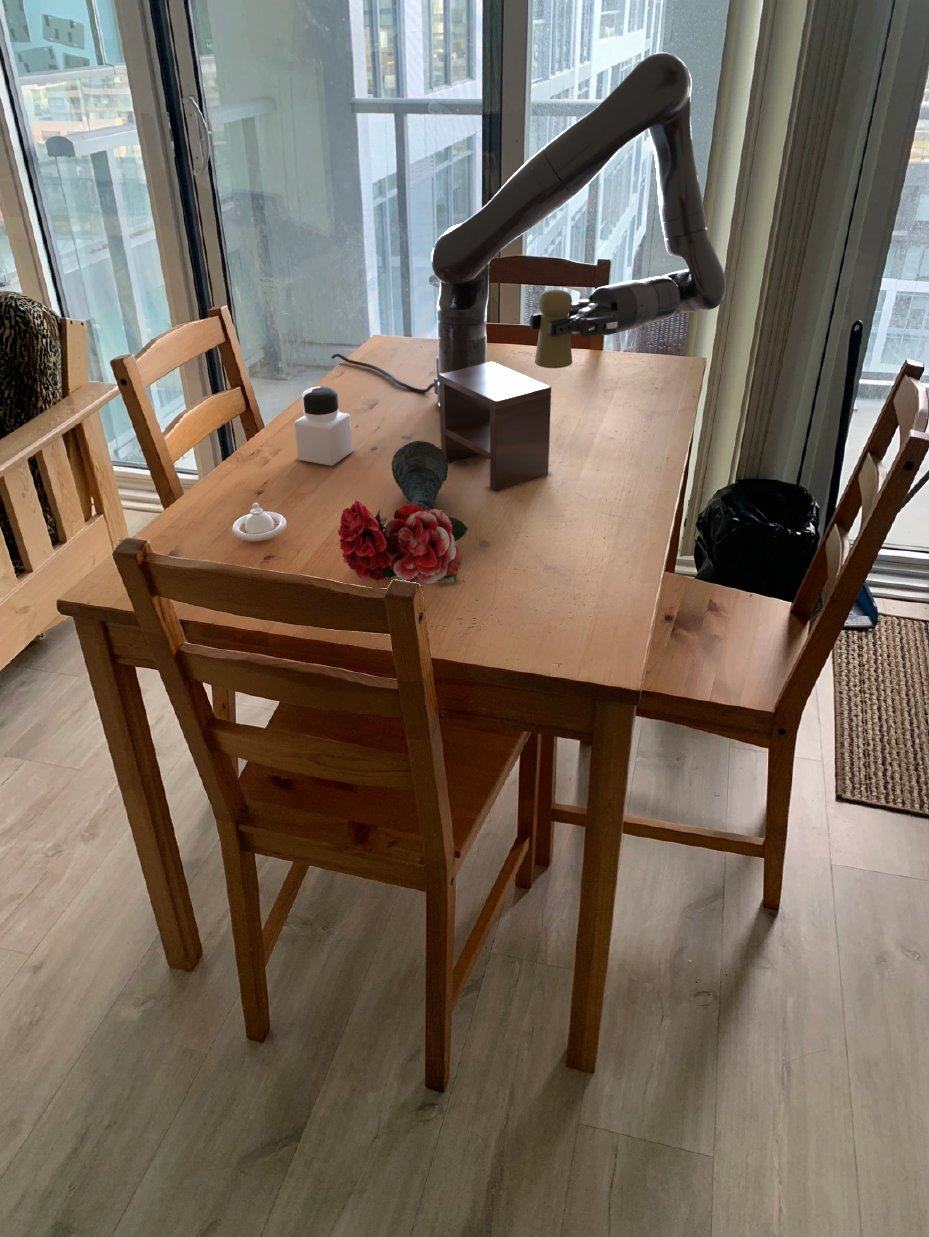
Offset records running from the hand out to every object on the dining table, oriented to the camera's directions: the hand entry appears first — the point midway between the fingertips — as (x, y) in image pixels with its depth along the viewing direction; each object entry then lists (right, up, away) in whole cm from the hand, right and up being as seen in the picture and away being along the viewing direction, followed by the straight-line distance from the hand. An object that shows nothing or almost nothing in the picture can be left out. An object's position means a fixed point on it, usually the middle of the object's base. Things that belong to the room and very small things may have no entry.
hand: (541, 326), depth 145 cm
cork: (+2, -4, +5) cm, 7 cm away
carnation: (-20, -34, -7) cm, 41 cm away
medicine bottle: (-36, -17, +21) cm, 45 cm away
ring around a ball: (-42, -33, -4) cm, 54 cm away
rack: (-7, -19, +16) cm, 26 cm away
